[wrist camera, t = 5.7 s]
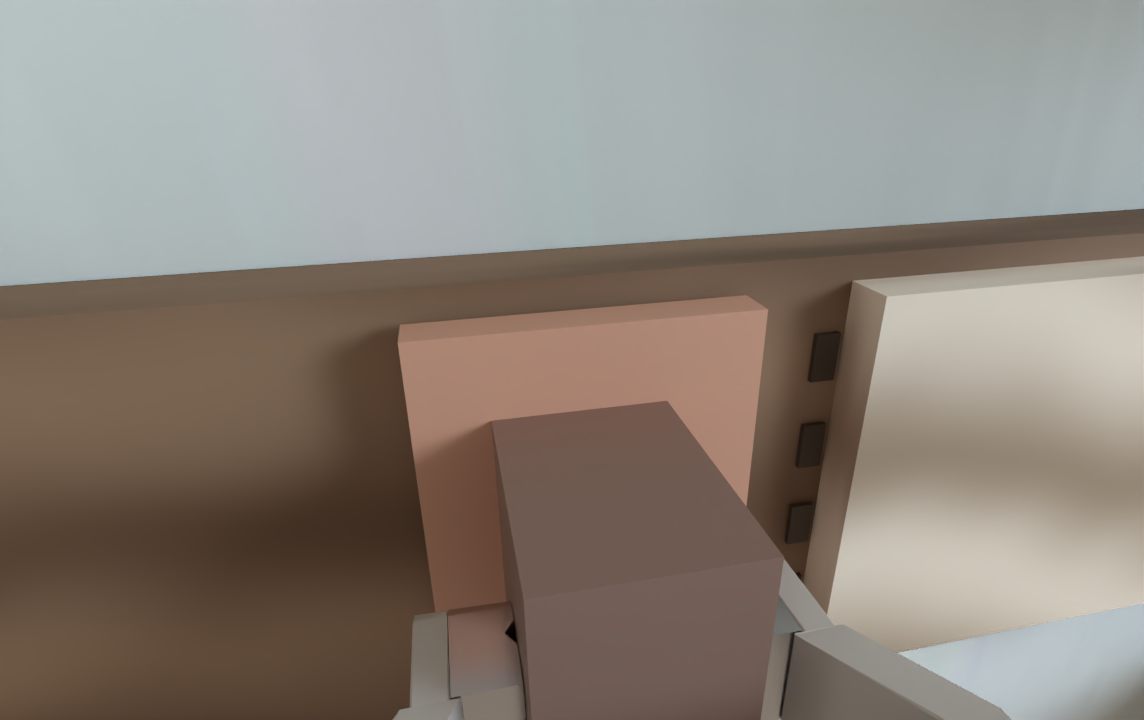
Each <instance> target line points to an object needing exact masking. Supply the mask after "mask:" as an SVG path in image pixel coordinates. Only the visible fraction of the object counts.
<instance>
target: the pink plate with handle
mask: <svg viewBox="0 0 1144 720" xmlns="http://www.w3.org/2000/svg"><path fill="white" fill-rule="evenodd" d="M767 316H768V309H767V308H765V307H764V306H762V305H761V304H759V303H758V302H756V301H755V300H753V299H752V298H750V297H749V296H747V295H742V296H730V297H719V298H707V299H695V300H683V301H672V302H660V303H648V304H637V305H625V306H613V307H601V308H590V309H578V310H566V311H555V312H543V313H531V314H519V315H508V316H496V317H484V318H472V319H461V320H449V321H437V322H426V323H414V324H402V325H400V328H399V336H398V349H399V356H400V364H401V371H402V378H403V385H404V392H405V399H406V406H407V413H408V421H409V428H410V435H411V442H412V449H413V456H414V463H415V470H416V478H417V485H418V492H419V499H420V506H421V513H422V520H423V528H424V535H425V542H426V549H427V556H428V563H429V570H430V577H431V585H432V592H433V599H434V606H435V613H436V612H443V611H448V610H451V609H458V608H465V607H472V606H479V605H486V604H493V603H500V602H507V601H511V606H512V612H513V618H514V628H515V639H516V643H517V644H518V651H519V658H520V665H521V672H522V679H523V688H524V699H525V709H526V719H525V720H761V713H762V706H763V700H764V693H765V686H766V679H767V672H768V665H769V658H770V651H771V644H772V638H773V631H774V624H775V617H776V610H777V603H778V596H779V589H780V582H781V576H782V569H783V562H784V556H783V555H782V553H781V552H780V551H779V549H778V548H777V547H776V545H775V544H774V543H773V541H772V540H771V539H770V537H769V536H768V535H767V533H766V532H765V531H764V529H763V528H762V527H761V525H760V524H759V523H758V521H757V520H756V519H755V517H754V516H753V515H752V513H751V512H750V511H749V509H748V508H747V507H746V506H747V497H748V488H749V479H750V469H751V460H752V451H753V442H754V433H755V424H756V415H757V406H758V397H759V388H760V379H761V370H762V361H763V352H764V343H765V334H766V325H767Z"/></svg>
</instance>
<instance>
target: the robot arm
mask: <svg viewBox="0 0 1144 720" xmlns="http://www.w3.org/2000/svg"><path fill="white" fill-rule="evenodd" d="M525 719H526V709H525V699H524V688H523V679H522V672H521V665H520V658H519V651H518V644H517V643H516V639H515V628H514V618H513V612H512V606H511V601H507V602H500V603H493V604H486V605H479V606H472V607H465V608H458V609H451V610H448V611H443V612H436V613H428V614H421V615H415V617H414V621H413V628H412V655H411V682H410V708H405V709H401V710H399V711H398V712H397V714H396V715H395V717H394V718H393V720H525ZM780 719H781V720H1011V719H1010V718H1009V717H1008V716H1007V715H1006V714H1005V713H1004V711H1003V710H1002V709H1001V708H999V707H997V706H995V705H993V704H991V703H990V702H988V701H986V700H984V699H982V698H980V697H978V696H977V695H975V694H973V693H971V692H969V691H967V690H965V689H963V688H962V687H960V686H958V685H956V684H954V683H952V682H950V681H949V680H947V679H945V678H943V677H941V676H939V675H937V674H935V673H934V672H932V671H930V670H928V669H926V668H924V667H922V666H920V665H919V664H917V663H915V662H913V661H911V660H909V659H907V658H906V657H904V656H902V655H900V654H898V653H896V652H894V651H892V650H891V649H889V648H887V647H885V646H883V645H881V644H879V643H877V642H876V641H874V640H872V639H870V638H868V637H866V636H864V635H863V634H861V633H859V632H857V631H855V630H853V629H851V628H849V627H848V626H846V625H844V624H842V625H834V624H833V622H832V621H831V620H830V618H829V617H828V616H827V615H826V613H825V612H824V611H823V609H822V608H821V607H820V605H819V604H818V603H817V601H816V600H815V599H814V597H813V596H812V595H811V593H810V592H809V591H808V590H807V588H806V587H805V586H804V584H803V583H802V582H801V580H800V579H799V578H798V576H797V575H796V574H795V572H794V571H793V570H792V568H791V567H790V566H789V564H788V563H787V562H786V561H785V559H784V562H783V569H782V576H781V582H780V589H779V596H778V603H777V610H776V617H775V624H774V631H773V638H772V644H771V651H770V658H769V665H768V672H767V679H766V686H765V693H764V700H763V706H762V713H761V720H780Z"/></svg>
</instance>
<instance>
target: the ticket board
mask: <svg viewBox="0 0 1144 720" xmlns="http://www.w3.org/2000/svg"><path fill="white" fill-rule="evenodd" d="M742 295H747V296H749V297H750V298H752V299H753V300H755V301H756V302H758V303H759V304H761V305H762V306H764V307H765V308H767V309H768V316H767V325H766V334H765V343H764V352H763V361H762V370H761V379H760V388H759V397H758V406H757V415H756V424H755V433H754V442H753V451H752V460H751V469H750V479H749V488H748V497H747V506H746V507H747V508H748V509H749V511H750V512H751V513H752V515H753V516H754V517H755V519H756V520H757V521H758V523H759V524H760V525H761V527H762V528H763V529H764V531H765V532H766V533H767V535H768V536H769V537H770V539H771V540H772V541H773V543H774V544H775V545H776V547H777V548H778V549H779V551H780V552H781V553H782V555H783V556H784V559H785V561H786V562H787V563H788V564H789V566H790V567H791V568H792V570H793V571H794V572H795V574H796V575H797V576H798V578H799V579H800V580H801V582H802V583H803V584H804V586H805V587H806V588H807V590H808V591H809V592H810V593H811V595H812V596H813V597H814V599H815V600H816V601H817V603H818V604H819V605H820V607H821V608H822V609H823V611H824V612H825V613H826V615H827V616H828V617H829V618H830V620H831V621H832V622H833V624H834V625H842V624H844V625H846V626H848V627H849V628H851V629H853V630H855V631H857V632H859V633H861V634H863V635H864V636H866V637H868V638H870V639H872V640H874V641H876V642H877V643H879V644H881V645H883V646H885V647H887V648H889V649H891V650H892V651H894V652H896V653H898V652H903V651H908V650H913V649H918V648H923V647H928V646H933V645H938V644H943V643H948V642H953V641H958V640H963V639H968V638H973V637H978V636H983V635H988V634H993V633H998V632H1003V631H1008V630H1013V629H1018V628H1023V627H1028V626H1033V625H1038V624H1043V623H1048V622H1053V621H1058V620H1063V619H1068V618H1073V617H1078V616H1083V615H1088V614H1093V613H1098V612H1103V611H1108V610H1113V609H1118V608H1123V607H1128V606H1133V605H1138V604H1143V603H1144V209H1136V210H1122V211H1107V212H1092V213H1077V214H1063V215H1048V216H1033V217H1018V218H1004V219H989V220H974V221H959V222H944V223H930V224H915V225H900V226H885V227H871V228H856V229H841V230H826V231H812V232H797V233H782V234H767V235H752V236H738V237H723V238H708V239H693V240H679V241H664V242H649V243H634V244H620V245H605V246H590V247H575V248H560V249H546V250H531V251H516V252H501V253H487V254H472V255H457V256H442V257H428V258H413V259H398V260H383V261H368V262H354V263H339V264H324V265H309V266H295V267H280V268H265V269H250V270H236V271H221V272H206V273H191V274H176V275H162V276H147V277H132V278H117V279H103V280H88V281H73V282H58V283H44V284H29V285H14V286H0V720H393V718H394V717H395V715H396V714H397V712H398V711H399V710H401V709H405V708H410V682H411V655H412V628H413V621H414V617H415V615H421V614H428V613H435V606H434V599H433V592H432V585H431V577H430V570H429V563H428V556H427V549H426V542H425V535H424V528H423V520H422V513H421V506H420V499H419V492H418V485H417V478H416V470H415V463H414V456H413V449H412V442H411V435H410V428H409V421H408V413H407V406H406V399H405V392H404V385H403V378H402V371H401V364H400V356H399V349H398V336H399V328H400V325H402V324H414V323H426V322H437V321H449V320H461V319H472V318H484V317H496V316H508V315H519V314H531V313H543V312H555V311H566V310H578V309H590V308H601V307H613V306H625V305H637V304H648V303H660V302H672V301H683V300H695V299H707V298H719V297H730V296H742Z"/></svg>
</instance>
